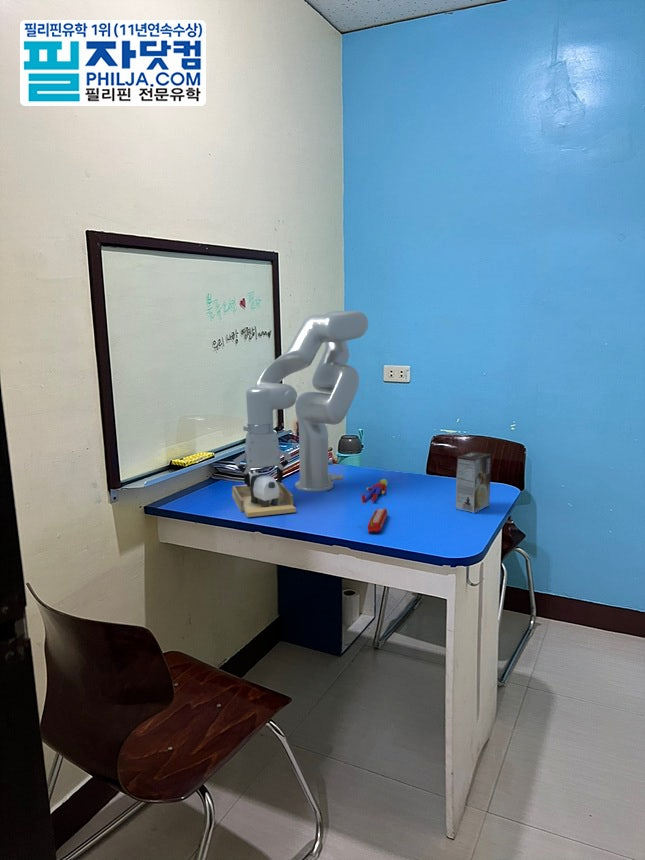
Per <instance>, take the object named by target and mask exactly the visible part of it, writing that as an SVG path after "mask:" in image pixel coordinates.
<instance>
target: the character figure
mask: <svg viewBox="0 0 645 860" xmlns="http://www.w3.org/2000/svg"><path fill="white" fill-rule="evenodd" d="M385 486H386V487H385ZM387 486H388V480H387V479H385V478H382V479H380V481H379V482H377V483H375V484H373V485H372V486H371V487H366V491H369V492H368V494H367V495H365V494H361V503H363V504H364V503H366V502H368V501H369V500H370V499H371V497H372V499H371V502H372V503H374V502H375V501H376V499H377V498H378V495H380V494H382V495H384V493H385V492H387ZM381 490H382V491H381ZM385 494H386V493H385ZM368 499H369V500H368Z"/></svg>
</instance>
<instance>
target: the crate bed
mask: <svg viewBox="0 0 645 860" xmlns="http://www.w3.org/2000/svg"><path fill="white" fill-rule="evenodd" d="M276 482H277V484H278V486H279V498H278V505H276V506H284V505H293V506H294V495H293V493H292V492H291V491H290V490H289V488H288V487H286V486H285V484H283V482H282V483H279V482H278V481H276ZM231 497H232V499H233V501H234V503H235V504H236V506H237V508H238V509H239V511H240V513H245V509H255V508H264V507H262V506H261V505H262V500H260V499H259V498H258V503H252V502H251V492H250V487H248V486H247V485H246V484H242V485H232V486H231ZM270 503H271V500H269V507H274V506H273V505H271V504H270Z"/></svg>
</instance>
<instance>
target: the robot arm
mask: <svg viewBox="0 0 645 860" xmlns="http://www.w3.org/2000/svg"><path fill="white" fill-rule="evenodd" d="M368 328H369V319H368V317H367V315H366V314H365V313H364V312H362V311H359V310H331V311H328V312H326V313H324V314H314V315H309V316H307V317H306V318H305V319H304V321H303V322H302V324H301V326H300V327H299V329H298V330H297V332H296V335H295V336H294V338H293V340H292V341H291V343H290V345H289V347H288V349H287V350H286V351H285V352H284V353H282V354H281V355H280V356H279V357H277V358H276V359H274V360H273V361H272V362H271V363H270V364H269V365H267V367H266V368H264V370H263V372H262V373H261V374H260V377H259V378H258V380H257V382H256V384H255V386H253V387H250V388H248V389H247V390H246V394H245V396H246V397H245V398H246V413H247V415H246V417H247V424H246V425H245V426H244V425H243V427H242V429H243V432H245V431H246V432H247V433H246V435H245V443H244V444H245V445H244V446H245V447H244V453H241V455H239V456H238V457H236V458H234V459H233V463H234V464H235V466H236V467H237V469H238V470H239V471H241V473H243V481H244V485H247V486H248V487H250V474H249V472H250V470H252V469H260V468H267V467H268V468H269V467H276V466H277V468H276V480H277V481H276V482H279V483H282V484H283V482H282V481H283V479H284V469H285V467H287V465H288V464H289V461H290V460H291V457H292V455H291V454H290V453H289V452H286V451H284V450H281V449H280V442H279V437H278V434H277V431H274V430H275V429H274V410H286V409H290V408H291V407H293V406H294V405H295V414H296V419H297V425H298V426H297V427H298V452H299V453H298V455H299V457H298V458H299V460H298V461H299V464H298V465H299V480H298V481H296V482H295V484H294V485H295V486H294V488H295V489H297V490H299V491H304V492H323V491H325V492H327V491H329V490H332V489H333V488H334V481H343V479H344V477H343V474H337V473H330V472H329V431H328V432H327V428H326V426H325V425H333V426H334V425H338V424H340V423H342V422H343V421H344V419H345V418H346V416H347V414H348V411H349V410H350V407H351V405H352V403H353V400H354V399H355V397H356V393H357V391H358V388H359V386H360V385H359V384H360V376H359V373H358V370H357V369H356V368H355V367H354V366H352V365H349V364H348V362H349V358H350V349H349V346H348V344H347V341H351V340H356V339H359V338H361V337H363V336H364V335H365V334H366V333H367V331H368ZM323 343H324V345H325V346H324V351H323V353H322V355H321V358H320V360H319V362H318V365H317V366H316V368H315V370H314V372H313V377H312V381H311V383H312V386H313V388H314V389H315V390H317V391H318V392H317V391H306V392H303V393H301V394H300V395H299V396H298V392H297V390H296V389H295V388H294V387H293V386H292V385H290V384H286V383H281V382H282V381H283V380H284V379H285V378H286V377H288V376H290V375H291V374H294V373H297V372H299V371H302V370H305V369H306V368H309V367H310V366H311V365H312V363H313V362H314V360H315V358H316V355H317V353H319V350H320V348H321V347H322V346H323ZM281 456H282V457H284V459H283V460H282V459H281ZM243 460H244V461H245V465H244V466H243V465H241V462H242V461H243ZM281 460H282V461H281Z"/></svg>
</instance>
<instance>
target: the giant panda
mask: <svg viewBox="0 0 645 860" xmlns="http://www.w3.org/2000/svg"><path fill="white" fill-rule="evenodd" d="M249 474H250V492H251V502H252V503H258V498H259V499H260V500H262V505H261V506H262V507H269V500H271V503H270V504H271V505H273V506H276V505H278V498H279V486H278V484H277V482H278V481H276V480H277V479H275V478H274V477H273V476H272V475H266V474H260V473H259V468H255V470H253V469H250V471H249Z"/></svg>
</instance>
